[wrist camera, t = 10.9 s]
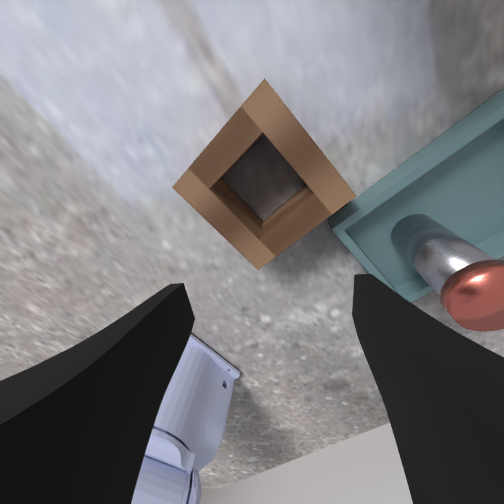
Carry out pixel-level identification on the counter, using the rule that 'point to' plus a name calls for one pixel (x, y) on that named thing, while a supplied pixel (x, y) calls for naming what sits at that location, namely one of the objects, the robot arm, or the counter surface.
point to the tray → (433, 198)
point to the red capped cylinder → (454, 271)
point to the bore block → (235, 208)
